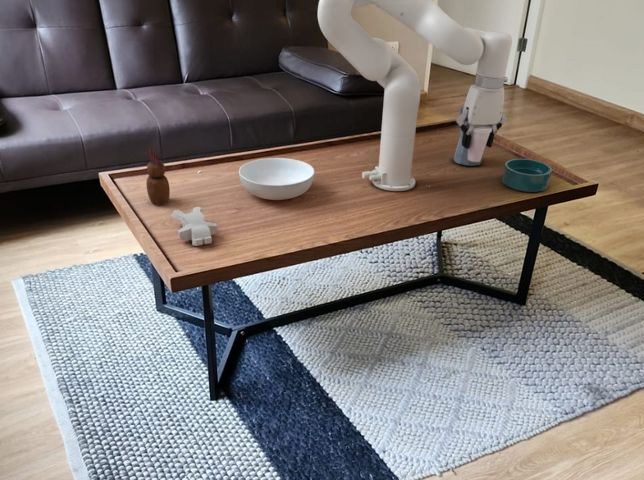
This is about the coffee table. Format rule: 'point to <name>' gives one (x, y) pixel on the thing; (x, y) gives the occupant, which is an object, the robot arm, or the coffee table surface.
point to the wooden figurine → (157, 181)
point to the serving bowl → (276, 178)
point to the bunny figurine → (195, 227)
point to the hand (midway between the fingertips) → (476, 146)
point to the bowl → (526, 175)
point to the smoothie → (478, 142)
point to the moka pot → (463, 150)
